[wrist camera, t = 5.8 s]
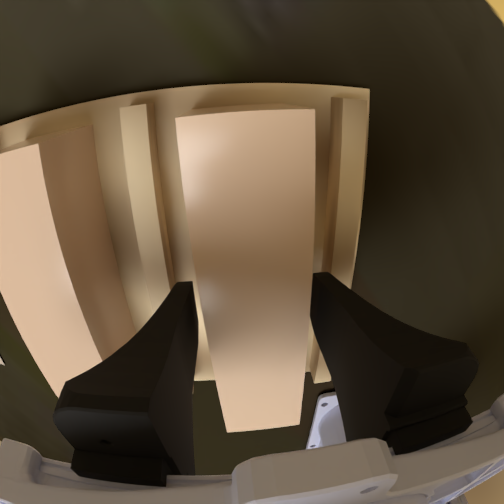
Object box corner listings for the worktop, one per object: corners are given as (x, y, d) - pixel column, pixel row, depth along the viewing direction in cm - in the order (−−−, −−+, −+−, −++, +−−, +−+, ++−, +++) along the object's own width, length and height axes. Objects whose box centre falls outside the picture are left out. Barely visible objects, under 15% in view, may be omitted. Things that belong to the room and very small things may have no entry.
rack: (331, 359, 20) (340, 384, 18) (61, 368, 19) (52, 391, 17) (362, 88, 12) (384, 89, 10) (-17, 133, 11) (-43, 142, 9)
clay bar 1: (149, 371, 18) (139, 432, 14) (96, 369, 18) (79, 426, 14) (92, 124, 11) (38, 143, 7) (25, 140, 11) (-38, 166, 7)
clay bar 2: (285, 362, 18) (299, 424, 14) (224, 368, 18) (227, 432, 14) (283, 103, 12) (315, 109, 8) (191, 109, 11) (175, 117, 8)
